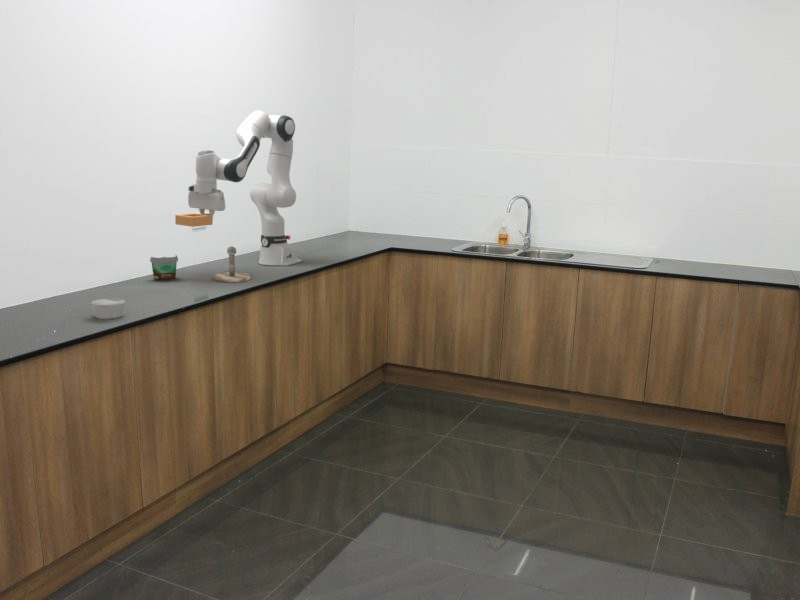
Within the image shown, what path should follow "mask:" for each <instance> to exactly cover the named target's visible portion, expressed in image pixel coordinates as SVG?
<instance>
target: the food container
mask: <svg viewBox="0 0 800 600" xmlns="http://www.w3.org/2000/svg"><path fill="white" fill-rule="evenodd" d="M149 262H150V263H151V268H152V269H151V270H152V276H153V280H154V279H155V281H160V280H161V281H163V282H166V281H174V280H176V279H177V277H176V276H177V263H178V262H179V257H178V255H177V254H175V256H170V257H169V256H163V257H153V256H150V260H149Z"/></svg>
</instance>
